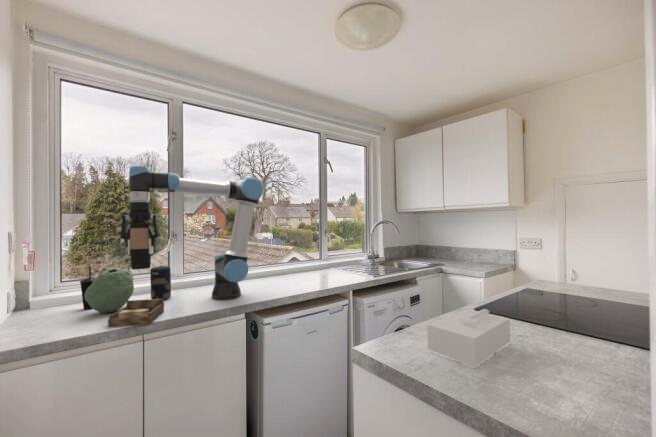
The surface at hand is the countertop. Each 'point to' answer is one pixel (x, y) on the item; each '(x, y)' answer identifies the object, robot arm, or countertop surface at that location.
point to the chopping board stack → (133, 313)
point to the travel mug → (139, 246)
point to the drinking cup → (84, 285)
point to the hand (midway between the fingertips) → (140, 253)
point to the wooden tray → (154, 311)
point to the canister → (160, 282)
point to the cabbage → (110, 290)
